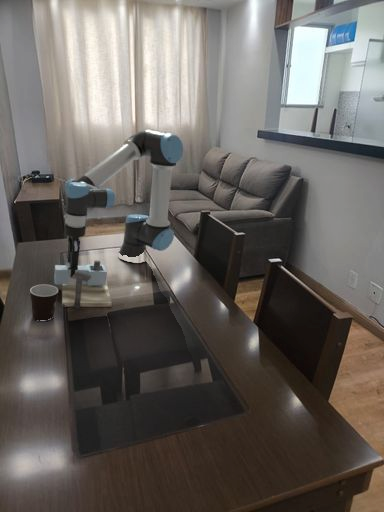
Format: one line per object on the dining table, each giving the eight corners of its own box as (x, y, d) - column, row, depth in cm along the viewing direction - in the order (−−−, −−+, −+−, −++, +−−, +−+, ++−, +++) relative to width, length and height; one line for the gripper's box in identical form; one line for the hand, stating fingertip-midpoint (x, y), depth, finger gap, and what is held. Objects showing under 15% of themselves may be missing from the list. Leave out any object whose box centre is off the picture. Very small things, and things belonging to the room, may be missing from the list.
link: (102, 277, 150) (103, 264, 148) (105, 285, 145) (107, 271, 143) (53, 277, 142) (54, 264, 140) (55, 285, 136) (56, 271, 134)
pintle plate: (62, 282, 147) (64, 255, 143) (105, 283, 153) (108, 257, 149) (62, 308, 128) (64, 278, 124) (111, 309, 134) (115, 280, 130)
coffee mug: (47, 326, 116) (48, 298, 113) (23, 319, 118) (24, 292, 114) (66, 310, 127) (68, 285, 124) (44, 304, 128) (45, 279, 125)
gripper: (62, 217, 140) (58, 271, 148) (67, 231, 125) (62, 291, 133) (82, 218, 143) (77, 272, 151) (89, 232, 128) (83, 291, 136)
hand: (70, 280), depth 142 cm, fingers closed on link, 4 cm apart
